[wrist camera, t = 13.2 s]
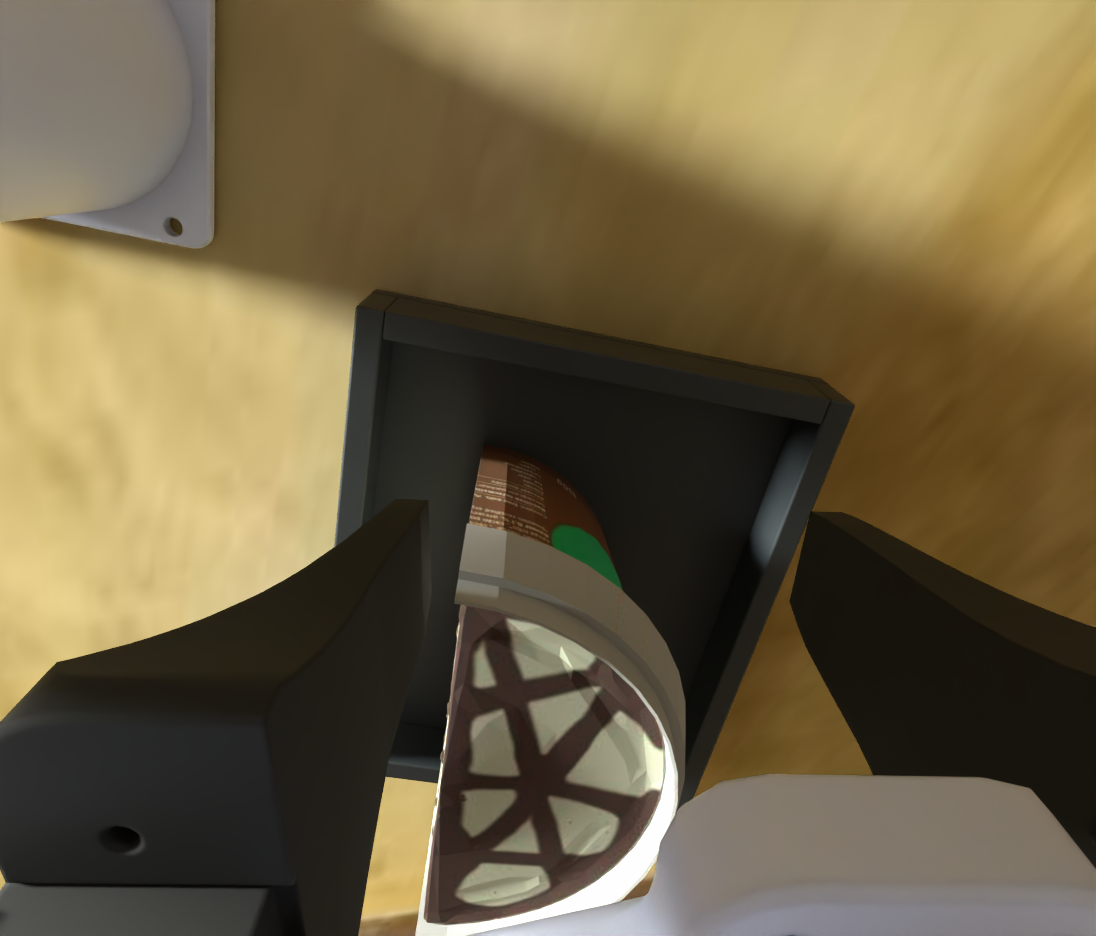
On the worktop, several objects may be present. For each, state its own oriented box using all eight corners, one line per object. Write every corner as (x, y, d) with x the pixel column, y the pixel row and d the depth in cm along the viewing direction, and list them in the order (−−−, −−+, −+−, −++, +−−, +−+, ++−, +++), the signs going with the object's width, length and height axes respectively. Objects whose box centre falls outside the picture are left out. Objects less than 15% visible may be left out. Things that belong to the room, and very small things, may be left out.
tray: (332, 716, 28) (313, 768, 26) (375, 288, 21) (355, 304, 19) (674, 763, 29) (686, 816, 27) (822, 378, 22) (857, 404, 20)
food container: (605, 711, 27) (641, 988, 18) (451, 695, 27) (410, 972, 18) (675, 427, 22) (773, 614, 13) (488, 401, 22) (456, 576, 13)
